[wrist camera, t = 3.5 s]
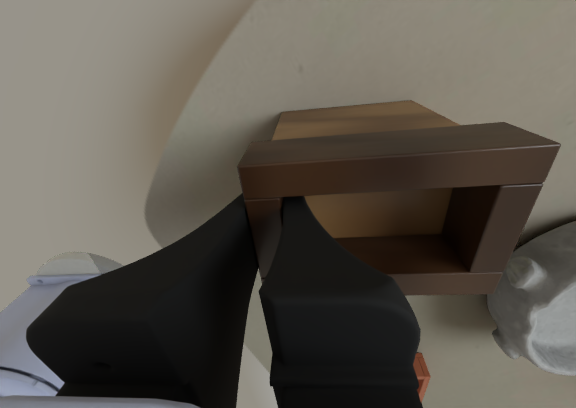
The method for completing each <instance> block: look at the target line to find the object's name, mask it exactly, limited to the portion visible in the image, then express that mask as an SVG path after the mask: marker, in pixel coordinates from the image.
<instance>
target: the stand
mask: <svg viewBox="0 0 576 408" xmlns="http://www.w3.org/2000/svg"><path fill="white" fill-rule="evenodd" d="M448 126H460V125H459V124H457V123H455V122H453V121H451V120H449V119H447V118H445V117H444V116H442V115H440V114H438V113H436V112H434V111H432V110H430V109H428V108H426V107H424V106H422V105H420V104H418V103H416V102H414V101H412V100H410V101H399V102H387V103H376V104H365V105H354V106H343V107H331V108H320V109H309V110H298V111H287V112H282V113H281V116H280V119H279V121H278V124H277V127H276V129H275V132H274V135H273V138H272V140H282V139H295V138H308V137H320V136H333V135H346V134H358V133H371V132H384V131H397V130H409V129H422V128H435V127H448ZM452 190H453V188H438V189H420V190H402V191H384V192H366V193H348V194H330V195H313V196H304V197H305V200H306V202H307V204H308V206H309V208H310V209H311V211H312V213H313V214H314V216H315V217H316V219H317V220H318V221H319V223H320V224H321V225H322V226H323V228H324V229H325V230H326V231H327V232H328V233H329V234H330V235H331V236H332V237H333V238H352V237H378V236H403V235H429V234H442V229H443V225H444V221H445V217H446V213H447V209H448V205H449V201H450V197H451V194H452Z"/></svg>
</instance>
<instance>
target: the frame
mask: <svg viewBox="0 0 576 408" xmlns="http://www.w3.org/2000/svg"><path fill="white" fill-rule="evenodd" d="M560 146H561V144H560V143H558V142H555V141H552V140H550V139H547V138H545V137H542V136H539V135H537V134H534V133H531V132H529V131H526V130H524V129H521V128H518V127H516V126H513V125H511V124H508V123H505V122H499V123H486V124H473V125H460V126H448V127H435V128H422V129H409V130H397V131H384V132H371V133H358V134H346V135H333V136H320V137H308V138H295V139H282V140H269V141H257V142H251V143H250V145H249V147H248V149H247V150H246V152H245V154H244V155H243V157H242V159H241V161H240V162H239V164H238V166H237V169H238V173H239V178H240V183H241V187H242V192H243V197H244V199H245V206H246V211H247V216H248V220H249V225H250V230H251V234H252V239H253V244H254V248H255V253H256V258H257V263H258V267H259V272H260V276H261V281H262V284H263V282H264V280H265V278H266V276H267V274H268V271H269V269H270V267H271V264H272V261H273V259H274V256H275V253H276V250H277V246H278V243H279V239H280V235H281V231H282V227H283V198H284V197H295V196H313V195H330V194H348V193H366V192H384V191H402V190H420V189H438V188H453V190H452V194H451V197H450V201H449V205H448V209H447V213H446V217H445V221H444V225H443V229H442V234H429V235H403V236H378V237H352V238H334V239H335V240H336V241H337V242H338V243H339V244H340V245H341V246H342V247H344V248H345V249H346V250H347V251H349V252H350V253H351V254H353V255H354V256H355V257H357V258H358V259H360V260H361V261H363V262H365V263H366V264H368V265H370V266H371V267H373V268H375V269H377V270H379V271H381V272H383V273H384V274H386V275H388V276H390V277H392V278H393V279H394V280H395V281H396V283H397V284H398V286H399V287H400V289H401V291H402V292H403V294H404V295H462V294H493V293H494V292H495V290H496V288H497V285H498V283H499V281H500V279H501V277H502V274H503V271H504V270H505V268H506V266H507V264H508V262H509V259H510V257H511V255H512V253H513V250H514V248H515V246H516V244H517V242H518V239H519V237H520V235H521V233H522V231H523V228H524V226H525V224H526V222H527V219H528V217H529V215H530V213H531V211H532V208H533V206H534V204H535V202H536V200H537V197H538V195H539V193H540V191H541V188H542V186H543V184H542V183H543V182H544V181H545V180H546V177H547V175H548V173H549V171H550V169H551V166H552V164H553V162H554V160H555V157H556V155H557V153H558V151H559V149H560Z"/></svg>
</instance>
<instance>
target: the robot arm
mask: <svg viewBox="0 0 576 408" xmlns="http://www.w3.org/2000/svg"><path fill="white" fill-rule="evenodd" d="M257 271H258V263H257V258H256V253H255V248H254V244H253V239H252V234H251V230H250V225H249V220H248V216H247V211H246V206H245V199H244V197H243V193H242V194H241V195H240V196H238V197H237V198H236V199H235V200H233V201H232V202H231V203H230V204H229V205H227V206H226V207H225V208H224V209H223V210H221V211H220V212H219V213H218V214H216V215H215V216H214V217H212V218H211V219H210V220H208V221H207V222H206V223H204V224H203V225H202V226H200V227H199V228H197V229H196V230H194V231H193V232H191V233H190V234H188V235H186V236H185V237H183V238H181V239H180V240H178V241H176V242H175V243H173V244H171V245H169V246H167V247H165V248H163V249H161V250H159V251H157V252H155V253H153V254H151V255H149V256H147V257H145V258H143V259H140V260H138V261H136V262H133V263H131V264H128V265H126V266H123V267H121V268H119V269H116V270H113V271H111V272H108V273H105V274H73V275H37V276H30V277H29V278H27V282H28V283H29V284H30V285H31V286H30V287H29V288H28V289H27V290H25V292H23V293H22V294H21V295H20V296H19V297H17V299H15V300H14V301H13V302H12V303H11V304H9V305H8V306H7V307H6V308H5V309H4V310H2V311H1V312H0V408H236V402H237V391H238V382H239V374H240V365H241V357H242V349H243V342H244V334H245V327H246V320H247V314H248V307H249V302H250V297H251V293H252V289H253V286H254V282H255V278H256V274H257ZM259 295H260V299H261V303H262V308H263V312H264V317H265V321H266V325H267V330H268V334H269V339H270V343H271V348H272V352H273V354H272V363H271V372H270V386H273V389H274V393H275V397H276V400H277V405H278V408H423V407H422V403H421V400H420V397H419V394H418V391H417V389H418V388H419V381H418V378H417V375H416V372H415V369H414V366H413V363H414V360H415V356H416V353H417V349H418V345H419V342H420V328H419V325H418V322H417V319H416V317H415V314H414V312H413V310H412V308H411V306H410V304H409V303H408V301H407V299H406V297H405V296H404V294H403V292H402V291H401V289H400V287H399V286H398V284H397V283H396V281H395V280H394V279H393V278H392V277H390V276H388V275H386V274H384V273H383V272H381V271H379V270H377V269H375V268H373V267H371V266H370V265H368V264H366V263H365V262H363V261H361V260H360V259H358V258H357V257H355V256H354V255H353V254H351V253H350V252H349V251H347V250H346V249H345V248H344V247H342V246H341V245H340V244H339V243H338V242H337V241H336V240H335V239H334V238H333V237H332V236H331V235H330V234H329V233H328V232H327V231H326V230H325V229H324V228H323V226H322V225H321V224H320V223H319V221H318V220H317V219H316V217H315V216H314V214H313V213H312V211H311V209H310V208H309V206H308V204H307V202H306V200H305V197H304V196H295V197H284V198H283V227H282V231H281V235H280V239H279V243H278V246H277V250H276V253H275V256H274V259H273V261H272V264H271V267H270V269H269V271H268V274H267V276H266V278H265V280H264V282H263V284H262V286H261V288H260V290H259Z"/></svg>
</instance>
